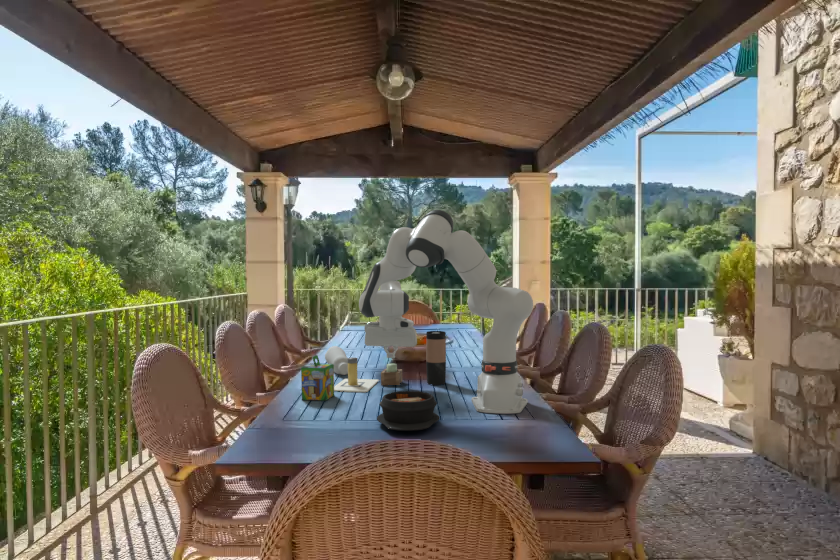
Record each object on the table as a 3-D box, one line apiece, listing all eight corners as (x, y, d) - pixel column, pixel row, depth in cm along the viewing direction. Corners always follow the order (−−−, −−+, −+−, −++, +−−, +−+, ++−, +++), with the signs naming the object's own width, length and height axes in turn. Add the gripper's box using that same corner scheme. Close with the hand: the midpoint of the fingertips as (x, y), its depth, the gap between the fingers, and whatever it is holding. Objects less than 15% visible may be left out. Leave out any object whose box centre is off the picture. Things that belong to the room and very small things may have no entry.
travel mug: (446, 381, 235) (446, 330, 235) (445, 385, 228) (445, 333, 227) (427, 381, 236) (427, 330, 235) (425, 385, 229) (425, 333, 228)
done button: (395, 380, 229) (395, 365, 229) (385, 380, 230) (385, 365, 230) (397, 378, 233) (397, 363, 233) (387, 378, 234) (387, 363, 234)
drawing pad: (366, 392, 217) (366, 390, 217) (329, 391, 219) (329, 389, 219) (379, 381, 237) (379, 379, 236) (344, 380, 239) (344, 378, 239)
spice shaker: (356, 385, 226) (355, 359, 225) (346, 385, 226) (346, 359, 226) (358, 383, 229) (358, 357, 229) (349, 383, 230) (349, 357, 230)
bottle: (320, 358, 270) (328, 373, 242) (331, 341, 271) (341, 354, 242) (337, 368, 273) (347, 384, 244) (348, 351, 274) (359, 365, 245)
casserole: (378, 413, 188) (378, 387, 188) (437, 412, 189) (437, 386, 188) (374, 437, 163) (374, 407, 163) (442, 436, 164) (442, 406, 163)
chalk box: (326, 401, 204) (325, 358, 203) (300, 400, 206) (300, 357, 205) (335, 395, 213) (334, 354, 212) (311, 394, 215) (310, 353, 214)
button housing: (399, 385, 228) (398, 372, 227) (381, 385, 229) (380, 372, 229) (402, 381, 235) (402, 369, 234) (384, 381, 236) (384, 368, 235)
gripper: (362, 322, 229) (362, 358, 229) (415, 323, 226) (415, 359, 226) (366, 320, 235) (366, 355, 236) (417, 321, 232) (417, 356, 233)
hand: (390, 357), depth 231 cm, fingers closed
